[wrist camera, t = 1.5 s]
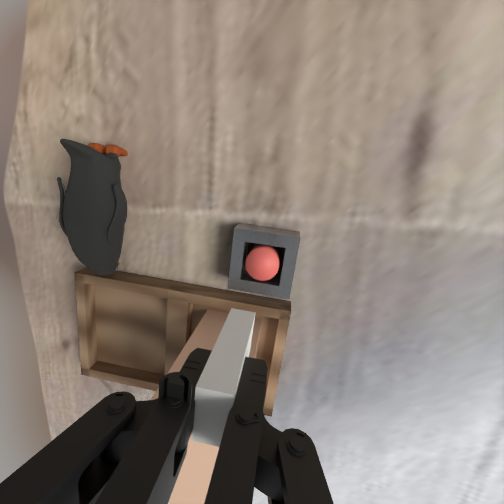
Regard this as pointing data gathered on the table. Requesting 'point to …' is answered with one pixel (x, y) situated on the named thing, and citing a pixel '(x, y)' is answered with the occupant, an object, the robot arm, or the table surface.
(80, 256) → the figurine
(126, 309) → the wooden divided tray
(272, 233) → the button collar
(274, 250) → the stop button
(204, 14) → the table surface
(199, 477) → the tan block
